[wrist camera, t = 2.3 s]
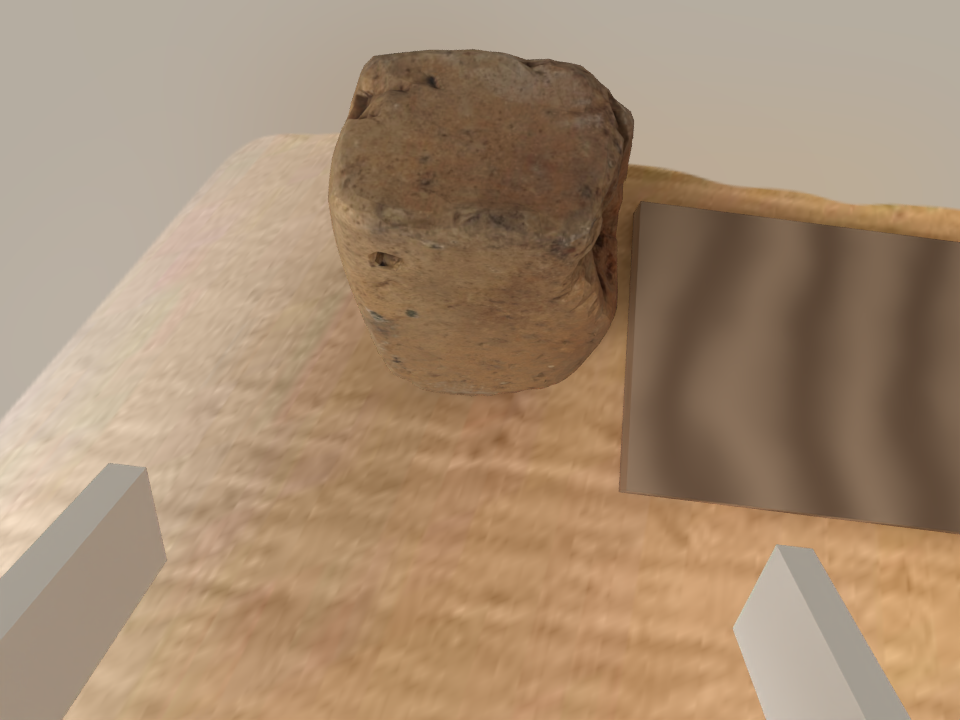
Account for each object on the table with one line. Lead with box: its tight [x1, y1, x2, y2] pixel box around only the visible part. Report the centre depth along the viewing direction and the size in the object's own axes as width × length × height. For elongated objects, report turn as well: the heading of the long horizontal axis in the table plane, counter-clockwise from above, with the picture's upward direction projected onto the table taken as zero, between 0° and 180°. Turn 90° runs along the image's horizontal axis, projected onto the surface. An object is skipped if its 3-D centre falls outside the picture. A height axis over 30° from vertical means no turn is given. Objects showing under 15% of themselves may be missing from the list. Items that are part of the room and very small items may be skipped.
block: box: [328, 49, 634, 396], centre depth 26 cm, size 11×8×20 cm
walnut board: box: [619, 201, 960, 534], centre depth 35 cm, size 22×18×2 cm
